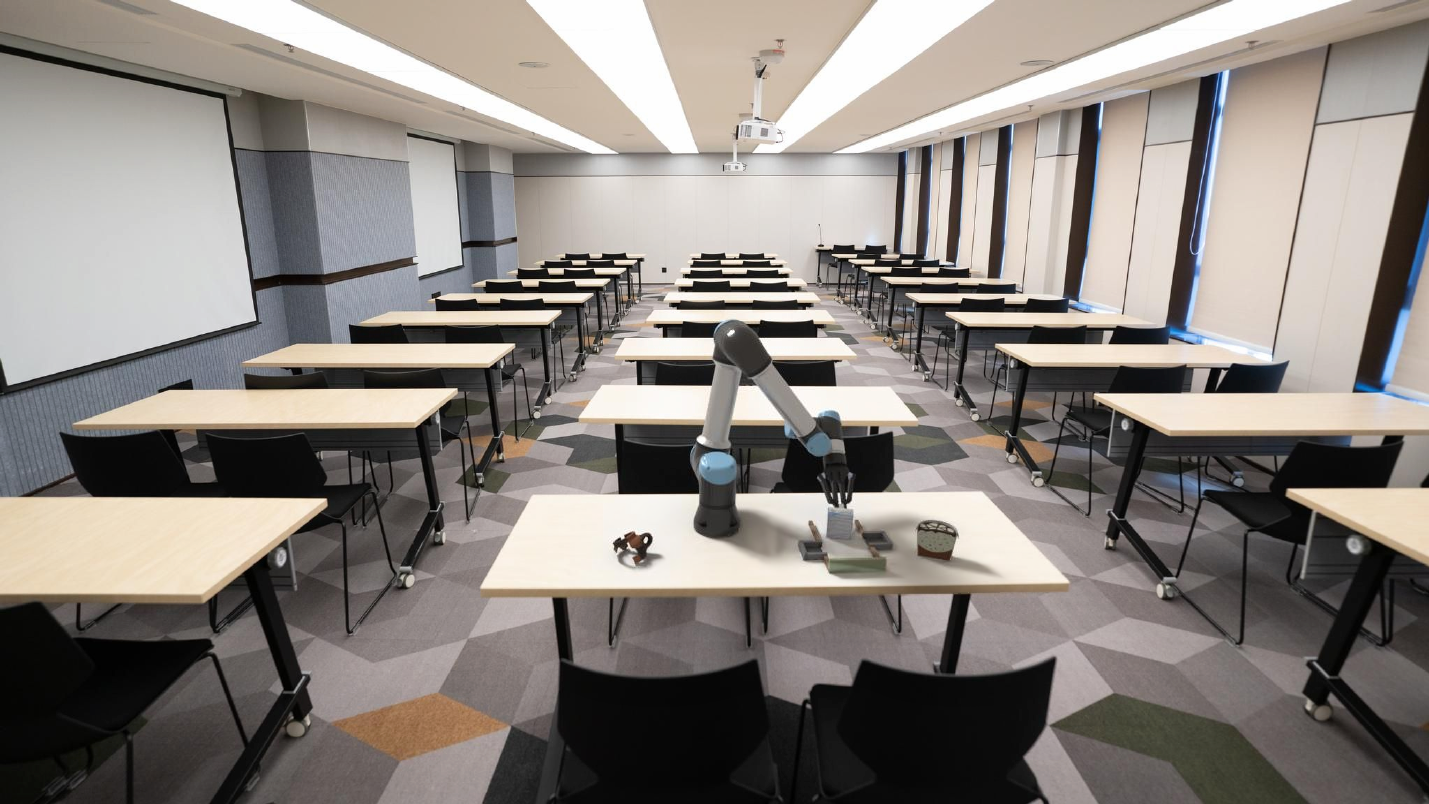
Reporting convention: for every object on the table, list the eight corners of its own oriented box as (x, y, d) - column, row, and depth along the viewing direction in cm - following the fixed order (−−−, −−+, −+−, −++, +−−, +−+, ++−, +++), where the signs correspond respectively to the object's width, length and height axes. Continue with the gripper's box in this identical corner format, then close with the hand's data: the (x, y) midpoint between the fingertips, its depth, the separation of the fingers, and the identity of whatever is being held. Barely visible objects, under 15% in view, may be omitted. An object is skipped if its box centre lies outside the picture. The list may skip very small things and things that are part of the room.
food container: (955, 552, 205) (959, 523, 202) (955, 562, 199) (959, 532, 196) (913, 545, 209) (916, 516, 206) (912, 555, 203) (915, 525, 200)
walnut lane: (808, 524, 221) (808, 513, 219) (857, 523, 222) (858, 512, 220) (828, 573, 193) (829, 560, 192) (885, 571, 194) (886, 559, 193)
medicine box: (851, 533, 215) (853, 508, 213) (851, 540, 211) (853, 515, 208) (826, 531, 217) (828, 506, 214) (825, 537, 212) (827, 512, 210)
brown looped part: (628, 570, 194) (615, 544, 193) (618, 568, 202) (605, 544, 202) (662, 548, 199) (650, 523, 199) (651, 548, 208) (639, 524, 207)
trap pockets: (794, 538, 212) (795, 532, 211) (884, 536, 214) (884, 530, 213) (803, 560, 199) (803, 554, 198) (897, 558, 201) (898, 552, 200)
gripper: (850, 459, 230) (859, 527, 220) (812, 459, 229) (820, 528, 219) (855, 451, 224) (865, 520, 214) (817, 451, 223) (825, 521, 212)
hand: (842, 524), depth 216 cm, fingers closed
